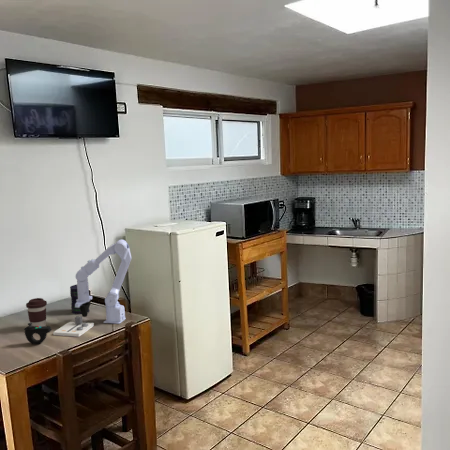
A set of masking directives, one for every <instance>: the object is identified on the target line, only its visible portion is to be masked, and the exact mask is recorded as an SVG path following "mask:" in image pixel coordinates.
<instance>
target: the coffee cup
mask: <svg viewBox="0 0 450 450" xmlns="http://www.w3.org/2000/svg"><path fill="white" fill-rule="evenodd" d="M47 305H48V303H47V300H45V299H44V298H42V297H36V298H32V299H29V301H28V302H27V303H26V304H25V306H26V307H25V308H27V315H28V321H29V323H32V326H47Z"/></svg>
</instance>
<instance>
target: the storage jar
mask: <svg viewBox="0 0 450 450" xmlns="http://www.w3.org/2000/svg"><path fill="white" fill-rule="evenodd" d="M69 293H70V296H69V297H70V298H71V304H70V305H71V307H70V308H71V313H72V314H73V315H82V314H81V311H80V309H79V308H78V307H75V304H76V302H77V301H76V300H77V299H78V291H77V284H73V285H70V287H69ZM89 312H90V308H89V309H88V313H89Z"/></svg>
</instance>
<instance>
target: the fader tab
mask: <svg viewBox="0 0 450 450" xmlns="http://www.w3.org/2000/svg"><path fill="white" fill-rule="evenodd" d="M74 322H75V324H82V323H84V322H83V316H79V315H76V316H75V317H74Z"/></svg>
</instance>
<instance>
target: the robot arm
mask: <svg viewBox="0 0 450 450" xmlns="http://www.w3.org/2000/svg"><path fill="white" fill-rule="evenodd" d="M111 255H117V256H118V257H119V259H120V260H121V261H120V264H119V267H118V269H117V273H116V275H115V278H114V281H113V282H112V284H111V287H110V291H109V292H107V294H106V297H105V298H104V303H105V318H106V319H105V320H104V321H103V324H117V325H118V324H121V323H122V322H124V321H125V320H126V319H127V318H126V311H125V309H126V308H125V306H124V305H122V304H120V302H119V301H118V300H119V298H120V290H121V288H122V285H123V283H124V281H125V277H126V274H127V272H128V270H129V268H130V267H129V266H130V264H131V261H132V253H131V249H130V245H129V243H128V242H127V241H126V240H125V239H122V238H121V239H118V240H116V242H114V243H112V244H111V245H110V246H108V247H107V248H106V249H105V250H104V251H103V252H102V253H101V254H99V255H98V256H97V257H96V258H94V259H93V258H92V259H89V260H87V263H86V264H85V265H84V266H81V267H80V269H79V270H78V271H77V272H76V273H75V279H76V282H77V284H76V285H77V291H78V299H77V300H76V301H77V302H76V304H75V307H78V308H79V309H80V311H81V314H80V315H81V317H82V318H85V317H88V314H89V312H88V309H89V310H90V306H91V305H92V303H91V300H93V295H90V289H89V276H91V275H92V274H93V273H95V272H96V271H97V270H98V269H99V268H100V264H101V263H102V262H103V261H104V260H106V258H108V257H109V256H111Z"/></svg>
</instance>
